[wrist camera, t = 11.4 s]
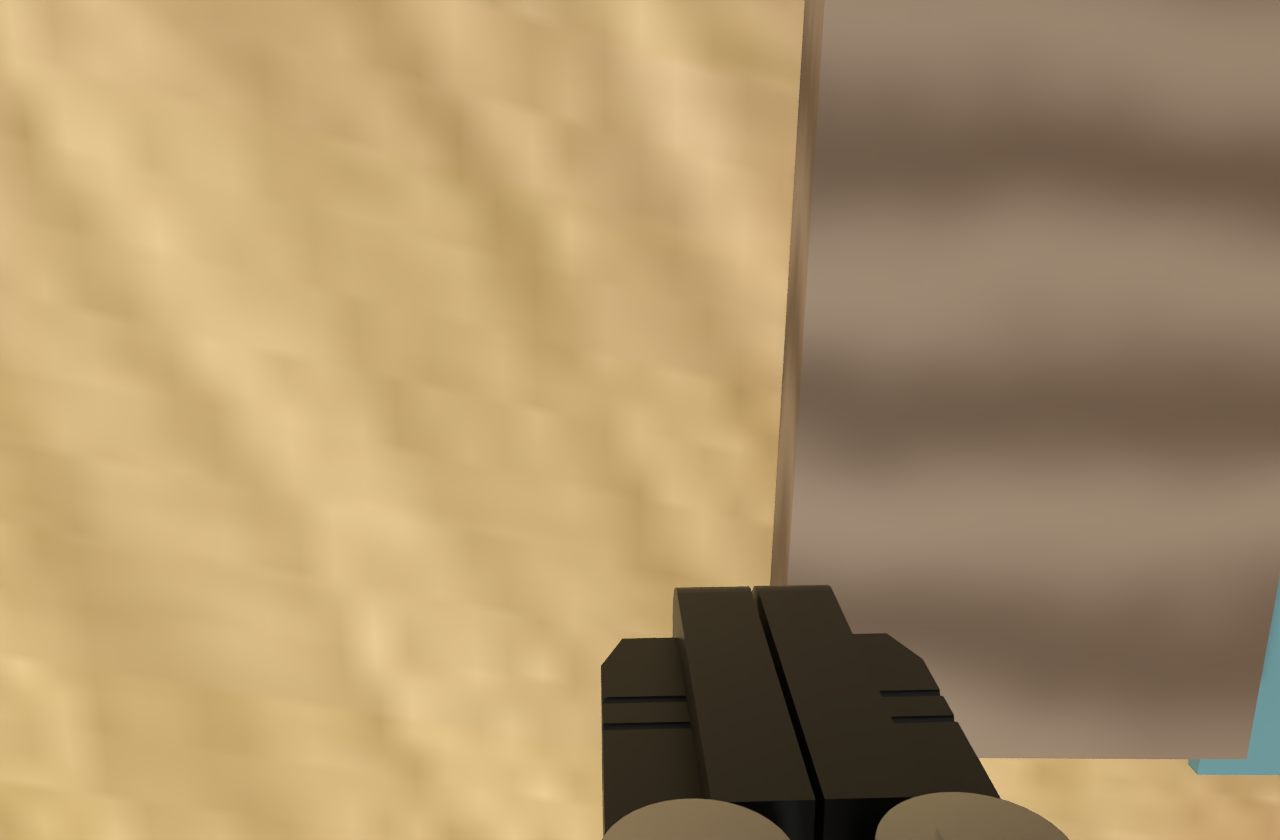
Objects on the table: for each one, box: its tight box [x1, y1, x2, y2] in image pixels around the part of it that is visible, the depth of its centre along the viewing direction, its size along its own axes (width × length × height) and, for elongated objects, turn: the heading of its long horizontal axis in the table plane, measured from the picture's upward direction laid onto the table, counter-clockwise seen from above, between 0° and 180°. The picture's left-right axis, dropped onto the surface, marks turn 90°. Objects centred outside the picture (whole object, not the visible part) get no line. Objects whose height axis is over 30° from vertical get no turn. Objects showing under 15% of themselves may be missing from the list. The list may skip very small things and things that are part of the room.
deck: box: [770, 0, 1280, 759], centre depth 34 cm, size 22×14×3 cm, turn 178°
